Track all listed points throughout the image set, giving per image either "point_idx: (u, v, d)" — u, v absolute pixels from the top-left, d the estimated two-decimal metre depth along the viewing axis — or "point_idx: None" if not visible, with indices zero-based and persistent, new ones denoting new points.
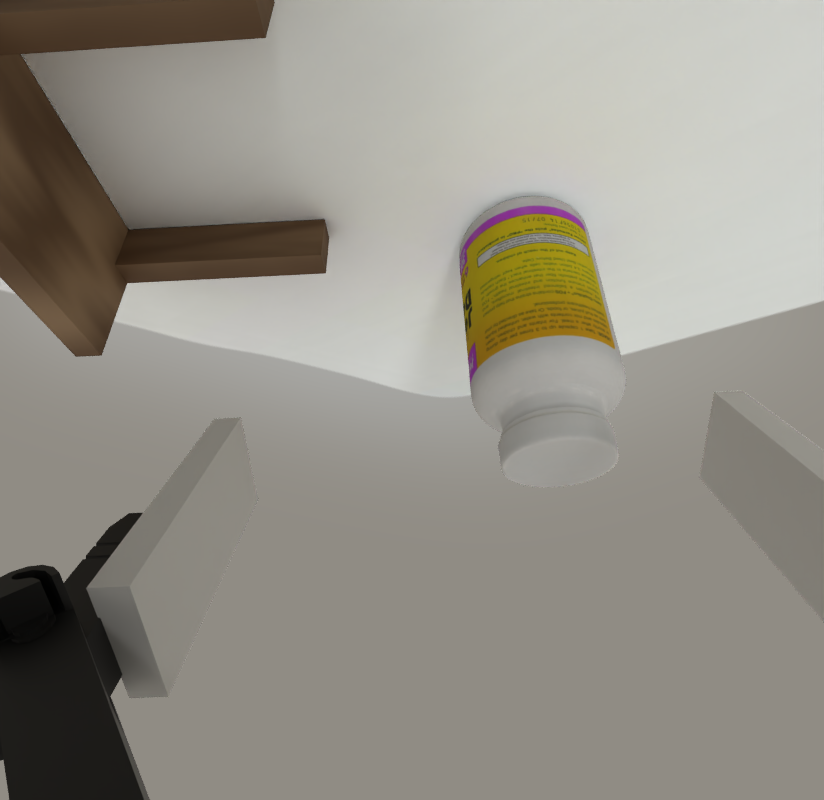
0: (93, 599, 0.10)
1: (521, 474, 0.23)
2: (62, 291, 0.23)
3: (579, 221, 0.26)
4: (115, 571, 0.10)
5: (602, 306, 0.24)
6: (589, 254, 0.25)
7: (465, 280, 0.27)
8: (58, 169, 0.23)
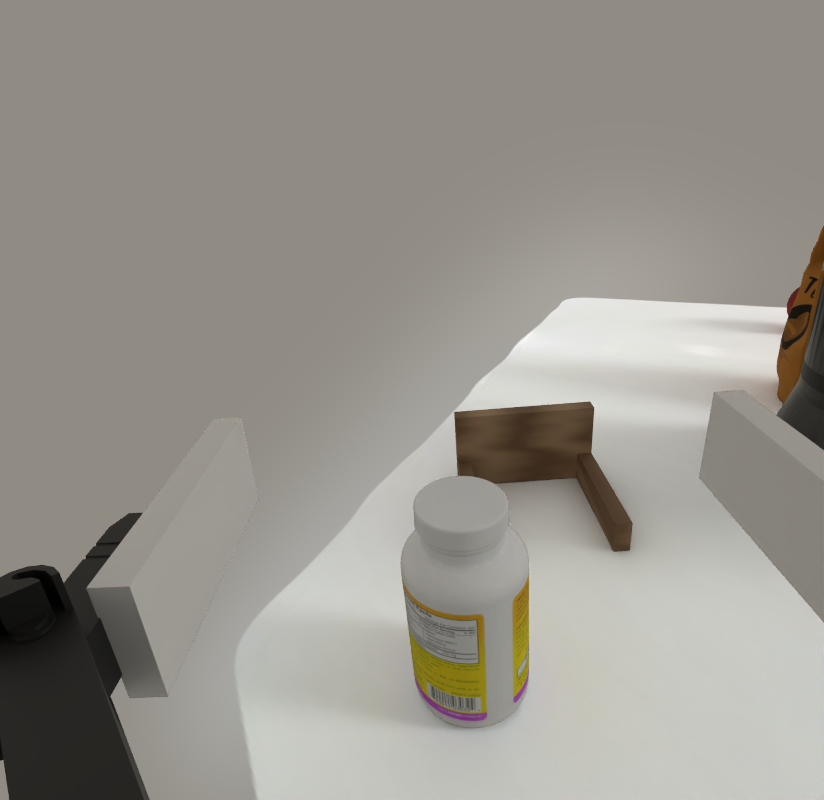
0: (93, 599, 0.10)
1: (442, 485, 0.29)
2: (495, 422, 0.48)
3: (518, 697, 0.30)
4: (115, 571, 0.10)
5: (516, 629, 0.28)
6: (516, 673, 0.29)
7: None
8: (525, 462, 0.50)
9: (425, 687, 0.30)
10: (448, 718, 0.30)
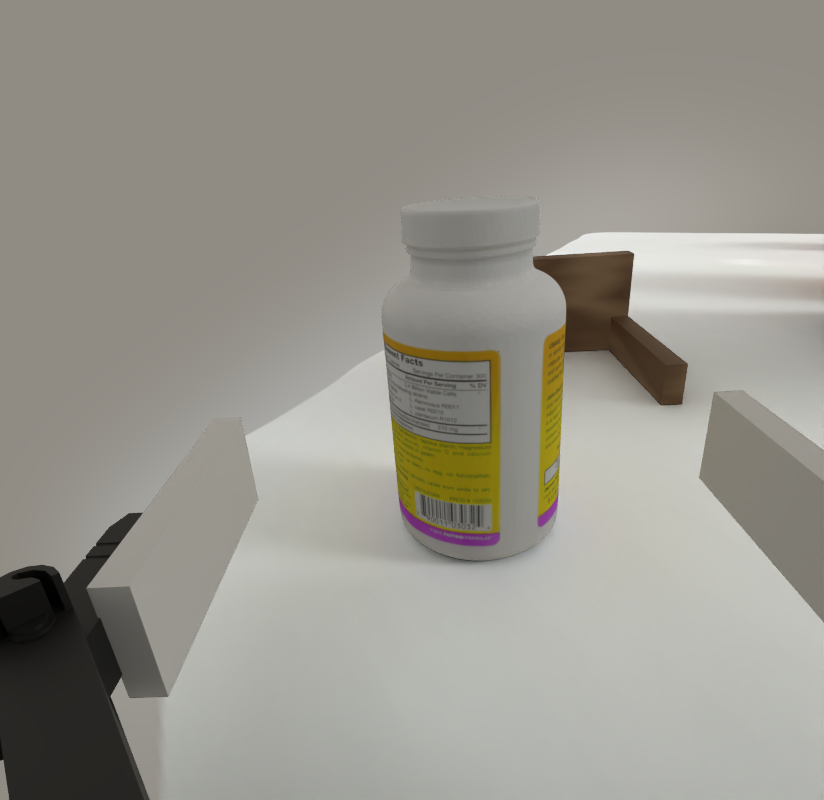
0: (93, 599, 0.10)
1: (444, 201, 0.20)
2: None
3: (544, 521, 0.21)
4: (115, 571, 0.10)
5: (546, 398, 0.19)
6: (543, 476, 0.20)
7: None
8: None
9: (413, 501, 0.21)
10: (444, 545, 0.21)
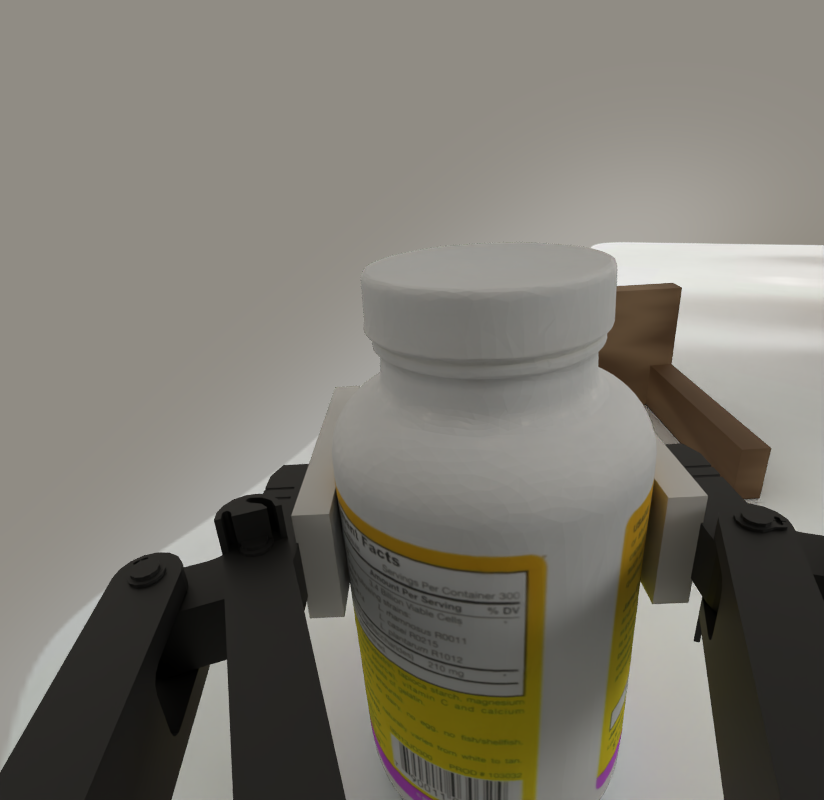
0: (294, 526, 0.11)
1: (440, 251, 0.12)
2: None
3: (605, 777, 0.13)
4: (310, 503, 0.11)
5: (622, 609, 0.11)
6: (609, 721, 0.12)
7: None
8: None
9: (389, 745, 0.13)
10: None
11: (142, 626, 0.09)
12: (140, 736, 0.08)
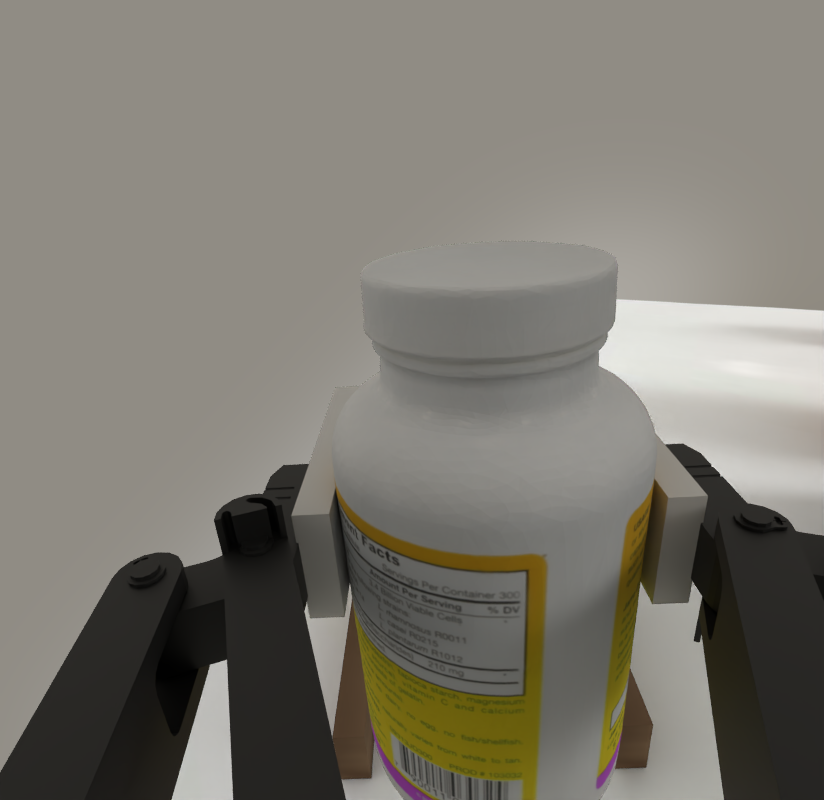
0: (295, 526, 0.11)
1: (440, 250, 0.12)
2: None
3: (606, 776, 0.13)
4: (310, 503, 0.11)
5: (622, 609, 0.11)
6: (609, 721, 0.12)
7: None
8: None
9: (388, 744, 0.13)
10: None
11: (142, 626, 0.09)
12: (140, 736, 0.08)
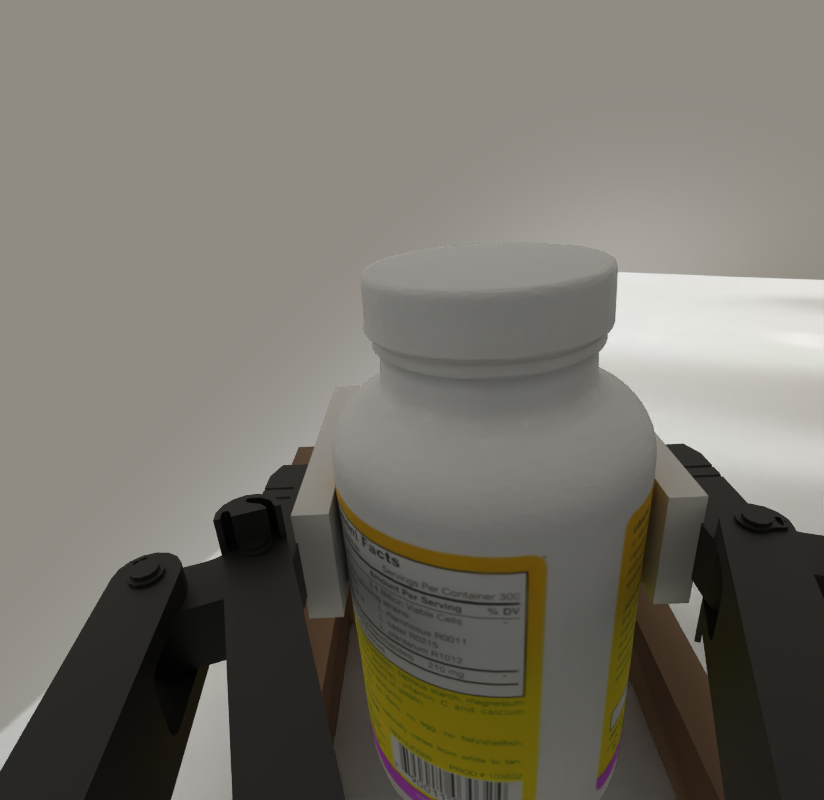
0: (294, 526, 0.11)
1: (440, 252, 0.12)
2: None
3: (606, 777, 0.13)
4: (310, 503, 0.11)
5: (622, 610, 0.11)
6: (609, 722, 0.12)
7: None
8: None
9: (388, 745, 0.13)
10: None
11: (141, 626, 0.09)
12: (139, 736, 0.08)
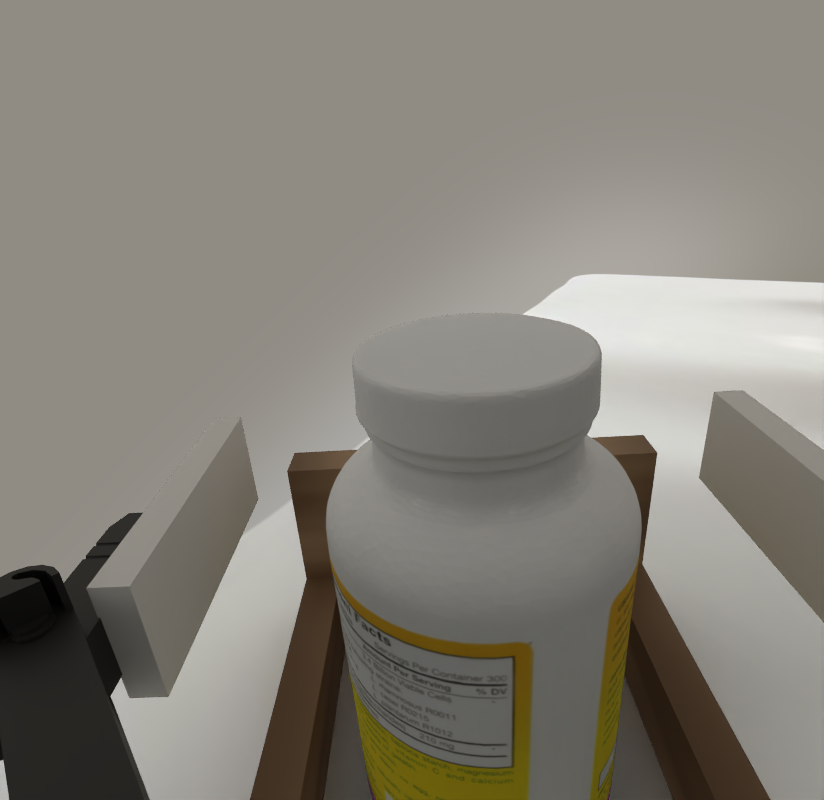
0: (93, 599, 0.10)
1: (430, 325, 0.12)
2: None
3: None
4: (115, 571, 0.10)
5: (608, 681, 0.11)
6: (597, 782, 0.12)
7: None
8: None
9: None
10: None
11: None
12: None
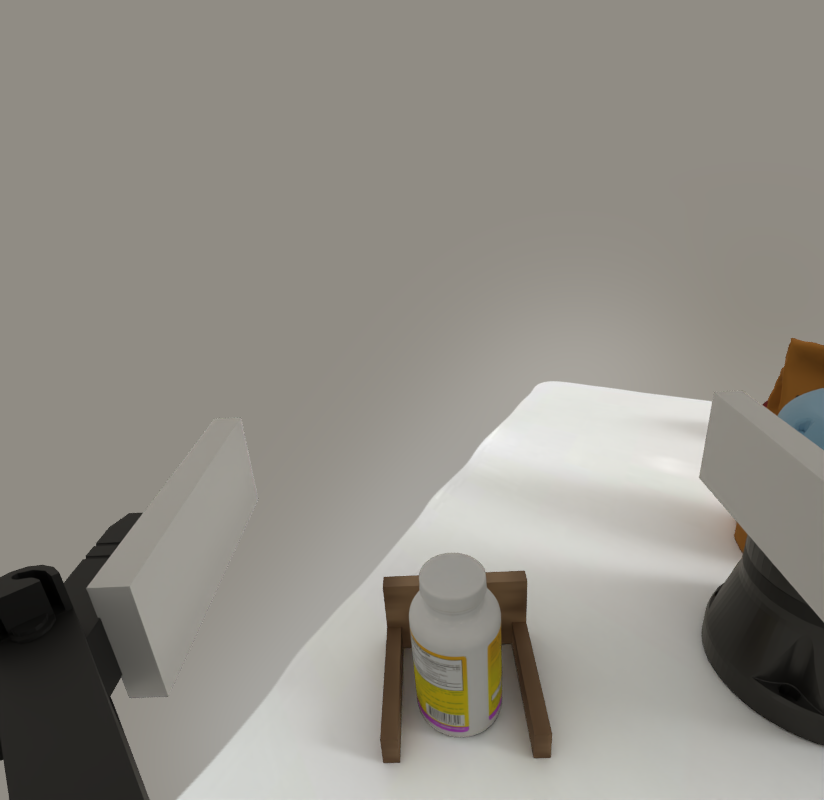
0: (93, 599, 0.10)
1: (440, 560, 0.40)
2: None
3: (492, 716, 0.41)
4: (115, 571, 0.10)
5: (490, 667, 0.39)
6: (491, 698, 0.40)
7: None
8: None
9: (424, 706, 0.41)
10: (441, 729, 0.41)
11: None
12: None
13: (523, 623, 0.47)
